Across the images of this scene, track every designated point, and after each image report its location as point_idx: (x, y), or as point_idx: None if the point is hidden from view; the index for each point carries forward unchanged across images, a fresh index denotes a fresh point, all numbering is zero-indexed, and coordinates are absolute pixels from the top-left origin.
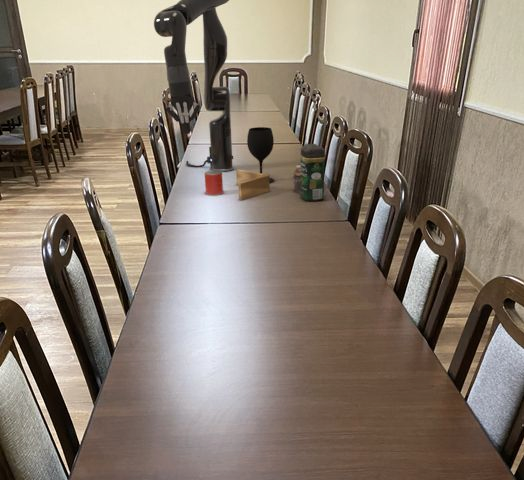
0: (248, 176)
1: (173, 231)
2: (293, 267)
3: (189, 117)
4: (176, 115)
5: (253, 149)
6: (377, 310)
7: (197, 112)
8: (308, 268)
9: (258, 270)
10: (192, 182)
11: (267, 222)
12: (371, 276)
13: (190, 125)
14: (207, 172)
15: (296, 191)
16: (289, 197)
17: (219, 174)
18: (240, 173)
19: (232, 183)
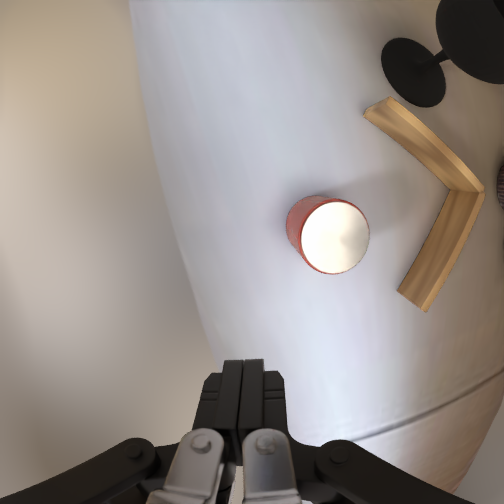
0: (423, 145)
1: None
2: None
3: (298, 491)
4: (112, 489)
5: (473, 70)
6: None
7: (420, 498)
8: (433, 480)
9: None
10: (190, 88)
11: (433, 409)
12: (467, 467)
13: (286, 416)
14: (314, 249)
15: (500, 201)
16: (489, 247)
17: (363, 255)
18: (397, 120)
19: (341, 90)
